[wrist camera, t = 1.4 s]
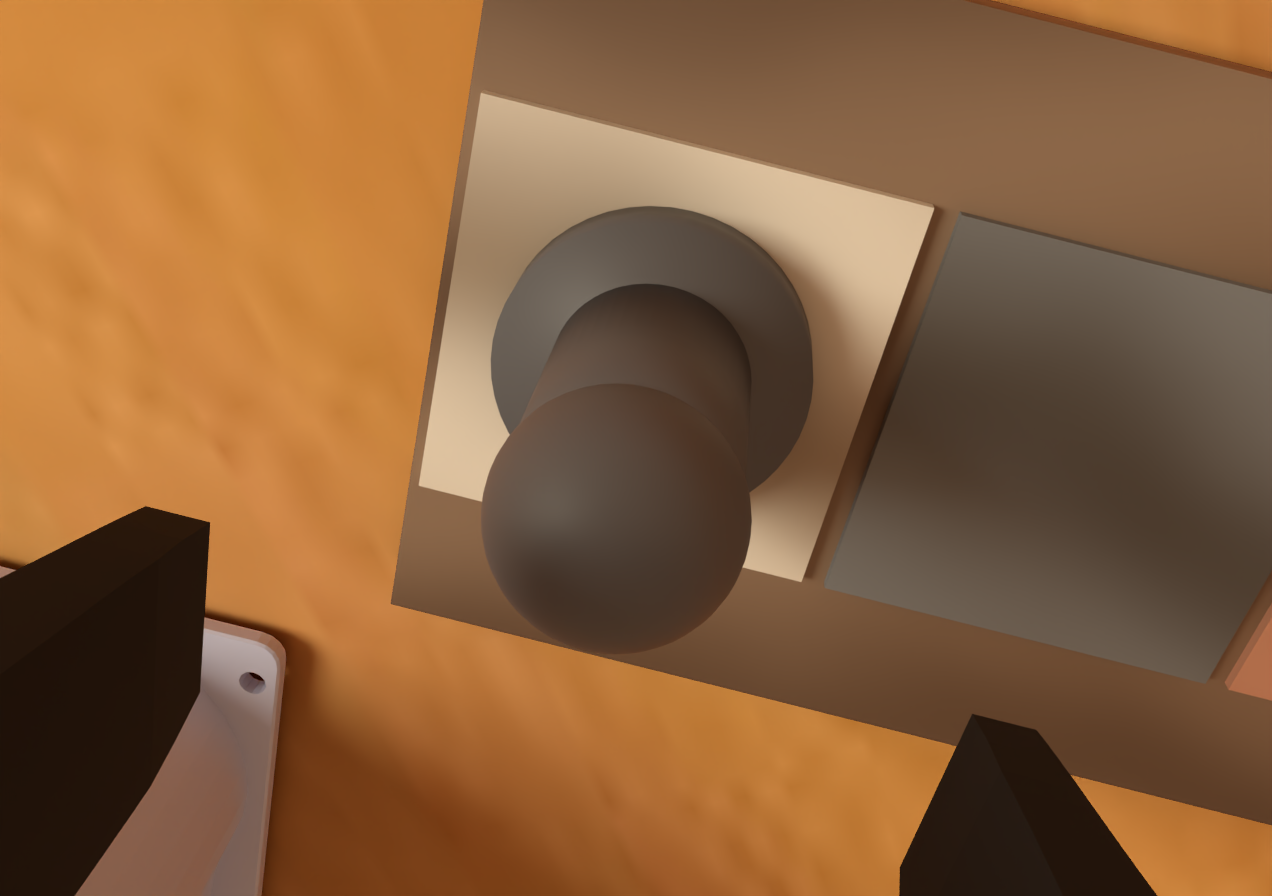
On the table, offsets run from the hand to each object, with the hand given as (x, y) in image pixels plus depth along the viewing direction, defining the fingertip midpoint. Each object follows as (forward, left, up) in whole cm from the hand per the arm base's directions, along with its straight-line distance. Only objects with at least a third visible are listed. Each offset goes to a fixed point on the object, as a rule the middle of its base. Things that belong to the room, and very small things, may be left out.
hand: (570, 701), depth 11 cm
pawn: (0, 0, -8) cm, 8 cm away
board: (0, -10, -9) cm, 14 cm away
